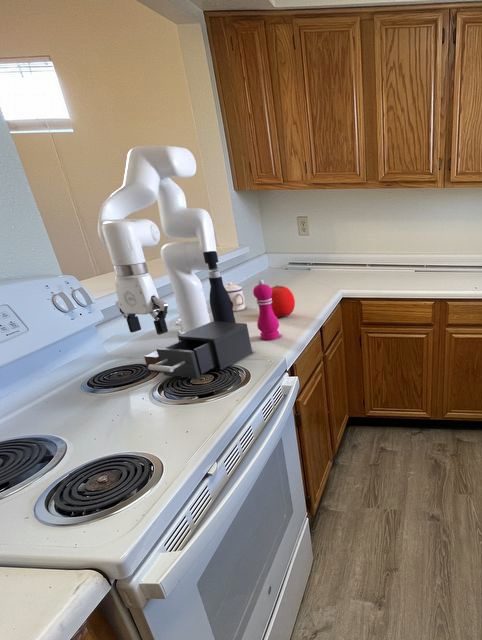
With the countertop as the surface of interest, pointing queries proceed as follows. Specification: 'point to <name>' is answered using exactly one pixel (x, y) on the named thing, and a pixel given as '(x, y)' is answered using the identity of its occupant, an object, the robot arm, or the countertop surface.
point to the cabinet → (223, 341)
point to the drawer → (186, 358)
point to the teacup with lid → (235, 296)
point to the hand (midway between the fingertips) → (149, 332)
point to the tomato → (282, 301)
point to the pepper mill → (266, 312)
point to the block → (152, 359)
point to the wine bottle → (218, 291)
